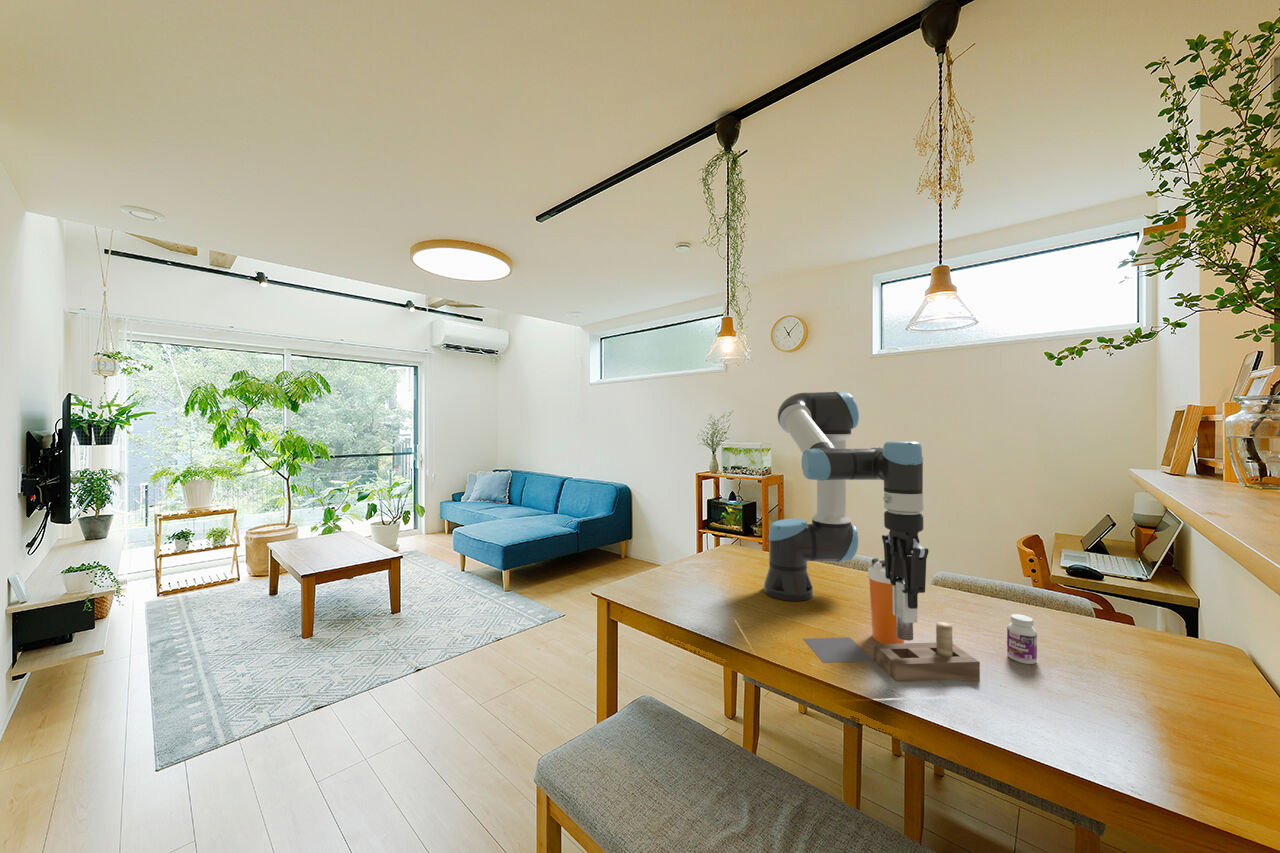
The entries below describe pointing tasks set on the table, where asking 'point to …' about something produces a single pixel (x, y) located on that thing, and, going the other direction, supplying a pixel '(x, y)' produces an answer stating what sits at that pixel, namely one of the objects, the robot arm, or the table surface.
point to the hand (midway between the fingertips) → (904, 618)
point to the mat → (837, 650)
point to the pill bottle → (1022, 639)
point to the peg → (902, 628)
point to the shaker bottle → (882, 605)
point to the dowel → (944, 639)
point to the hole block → (925, 663)
